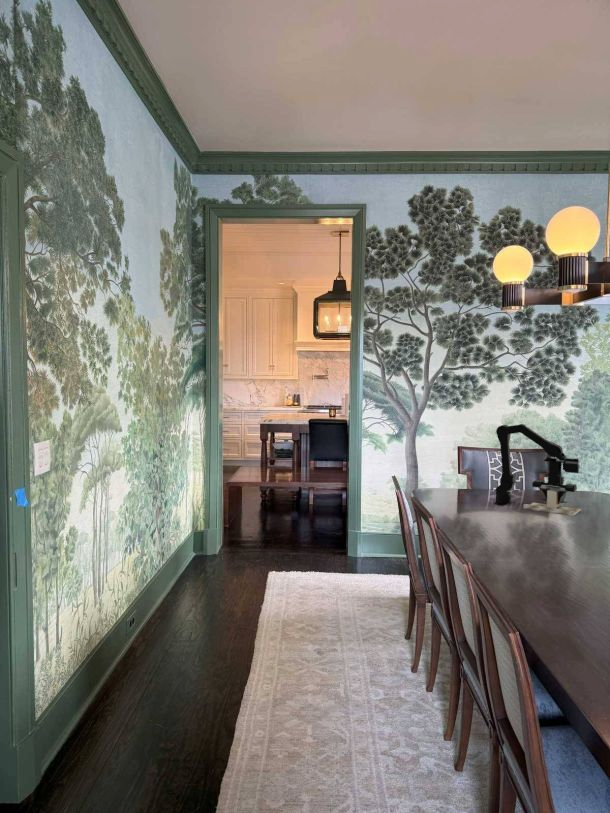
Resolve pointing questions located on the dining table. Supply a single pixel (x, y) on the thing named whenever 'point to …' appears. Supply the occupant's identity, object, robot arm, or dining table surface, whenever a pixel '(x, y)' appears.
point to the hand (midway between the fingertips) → (553, 503)
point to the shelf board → (551, 509)
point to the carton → (552, 498)
